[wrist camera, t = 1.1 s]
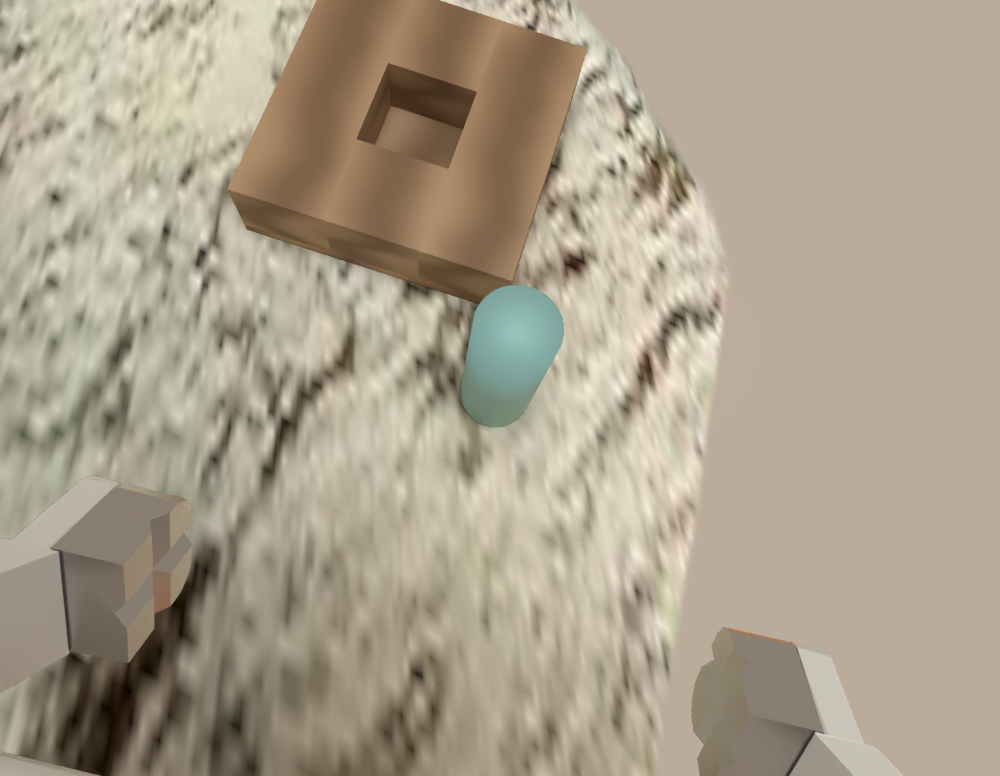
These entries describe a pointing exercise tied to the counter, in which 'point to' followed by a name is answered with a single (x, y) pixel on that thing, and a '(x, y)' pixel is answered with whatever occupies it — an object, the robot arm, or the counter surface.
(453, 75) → the bore block
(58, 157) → the counter surface
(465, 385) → the pin
